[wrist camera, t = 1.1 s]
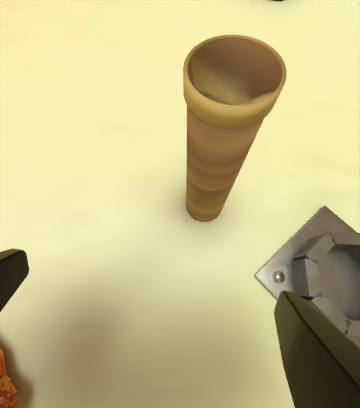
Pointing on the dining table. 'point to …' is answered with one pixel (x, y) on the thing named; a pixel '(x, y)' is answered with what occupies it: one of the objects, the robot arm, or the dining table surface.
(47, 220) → the dining table surface
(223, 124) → the tall ribbed vase
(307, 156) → the dining table surface
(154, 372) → the dining table surface
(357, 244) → the cup bracket
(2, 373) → the croissant
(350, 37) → the dining table surface
